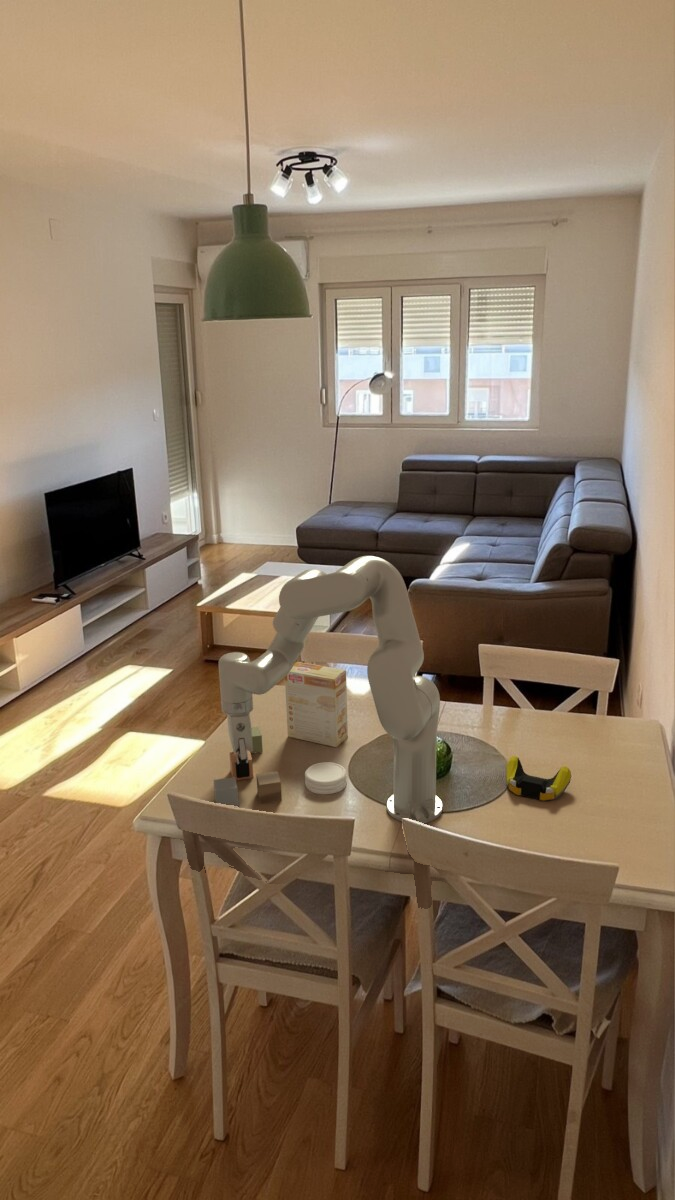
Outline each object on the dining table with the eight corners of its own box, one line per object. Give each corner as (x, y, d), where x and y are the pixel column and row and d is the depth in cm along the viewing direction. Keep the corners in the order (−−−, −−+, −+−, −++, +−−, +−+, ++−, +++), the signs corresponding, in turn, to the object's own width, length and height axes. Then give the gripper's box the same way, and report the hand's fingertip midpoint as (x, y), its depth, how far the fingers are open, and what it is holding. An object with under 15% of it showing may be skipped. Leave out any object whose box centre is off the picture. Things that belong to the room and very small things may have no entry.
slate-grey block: (238, 807, 190) (237, 788, 188) (216, 810, 189) (215, 791, 187) (236, 795, 195) (235, 777, 193) (215, 798, 194) (213, 780, 192)
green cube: (262, 752, 214) (261, 735, 213) (243, 755, 213) (242, 737, 211) (259, 743, 219) (258, 726, 217) (241, 746, 218) (239, 729, 216)
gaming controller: (509, 772, 202) (497, 792, 193) (510, 752, 200) (498, 772, 191) (571, 786, 195) (562, 807, 187) (573, 765, 193) (564, 785, 185)
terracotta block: (253, 777, 202) (252, 759, 201) (232, 780, 201) (231, 762, 199) (250, 767, 207) (249, 749, 205) (230, 770, 206) (229, 752, 204)
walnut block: (281, 800, 192) (280, 781, 190) (260, 803, 191) (259, 784, 189) (278, 789, 197) (277, 771, 195) (257, 792, 196) (256, 774, 194)
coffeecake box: (348, 736, 221) (347, 669, 215) (336, 748, 215) (334, 679, 209) (300, 726, 228) (297, 660, 222) (286, 737, 222) (283, 669, 216)
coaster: (354, 780, 200) (354, 767, 199) (332, 800, 192) (331, 786, 191) (320, 770, 205) (320, 757, 204) (297, 788, 197) (296, 775, 196)
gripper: (257, 717, 191) (261, 786, 197) (248, 687, 207) (252, 752, 212) (225, 721, 189) (230, 791, 195) (218, 691, 205) (223, 756, 211)
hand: (241, 770), depth 204 cm, fingers closed on terracotta block, 4 cm apart
